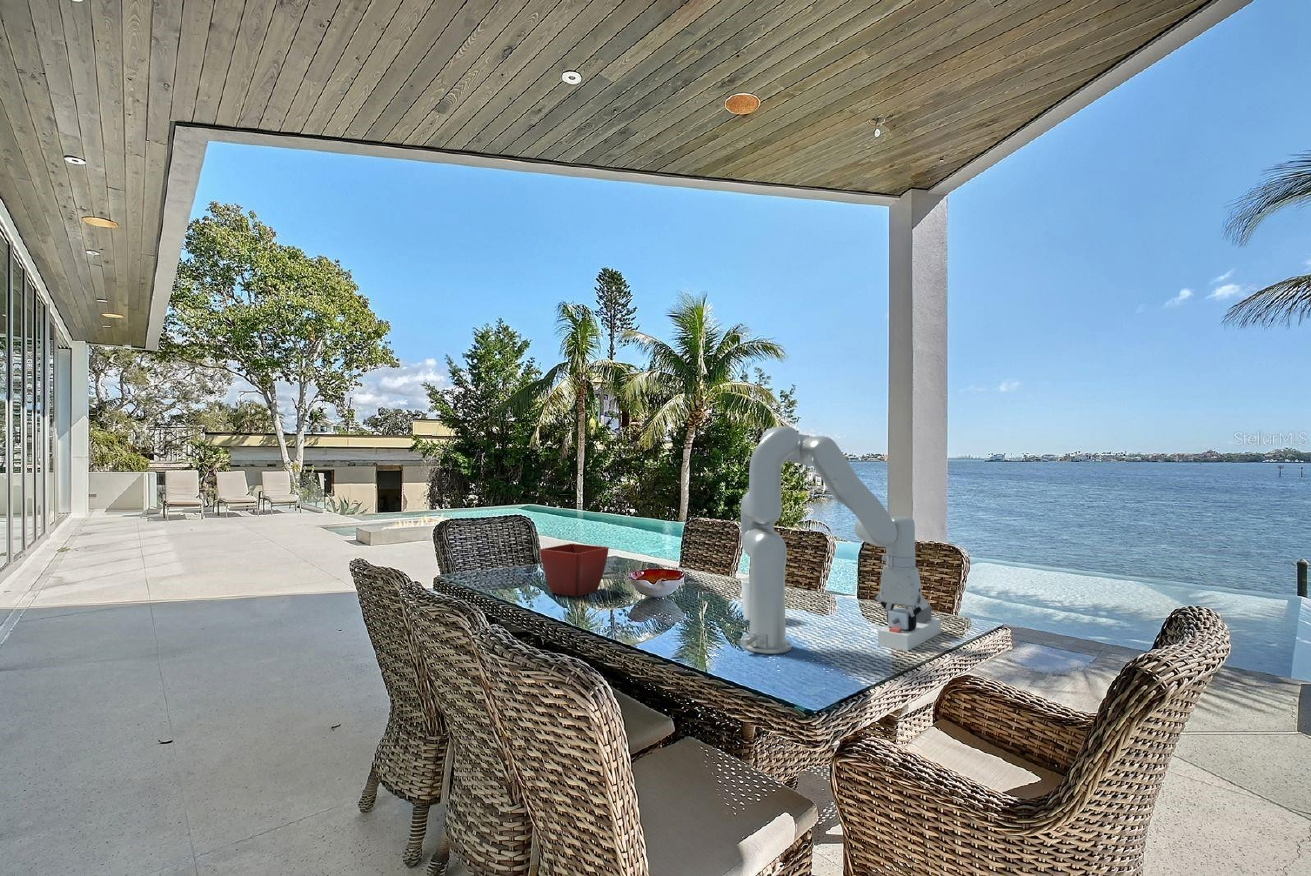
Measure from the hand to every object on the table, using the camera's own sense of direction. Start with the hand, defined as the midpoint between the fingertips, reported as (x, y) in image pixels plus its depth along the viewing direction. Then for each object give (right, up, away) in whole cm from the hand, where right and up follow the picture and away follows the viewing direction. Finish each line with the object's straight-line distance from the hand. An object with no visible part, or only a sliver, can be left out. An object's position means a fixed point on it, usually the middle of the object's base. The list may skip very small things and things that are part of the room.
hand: (901, 627), depth 180 cm
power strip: (+4, -4, +4) cm, 7 cm away
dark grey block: (+8, -4, +9) cm, 13 cm away
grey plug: (0, -4, 0) cm, 4 cm away
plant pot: (-98, -7, +68) cm, 119 cm away
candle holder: (-36, -5, +28) cm, 45 cm away
